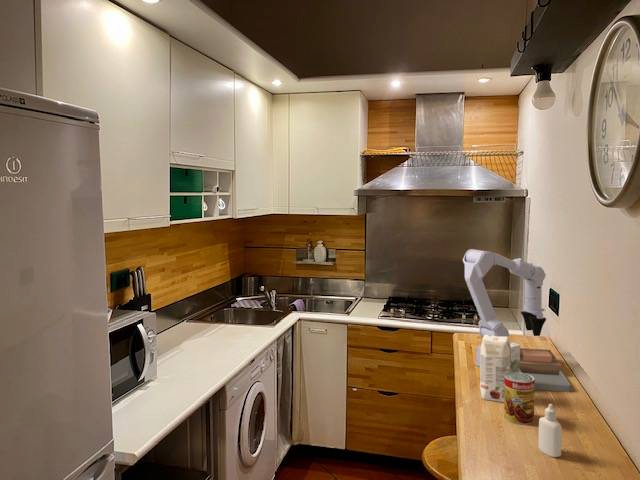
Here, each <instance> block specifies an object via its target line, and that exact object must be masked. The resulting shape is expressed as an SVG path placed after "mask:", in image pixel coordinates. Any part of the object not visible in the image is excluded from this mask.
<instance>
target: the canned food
mask: <svg viewBox="0 0 640 480" xmlns="http://www.w3.org/2000/svg"><path fill="white" fill-rule="evenodd" d="M534 388H535V379H534V377H533V376H531V375H529V374H526V373H521V372H510V373H506V374H505V375H504V402H503V418H504V419H505V420H506V421H508V422H509V423H512V424H515V425H523V426H524V425H525V426H526V425H530V424H532V423H534V421H535V389H534Z"/></svg>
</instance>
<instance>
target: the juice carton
mask: <svg viewBox="0 0 640 480" xmlns="http://www.w3.org/2000/svg"><path fill="white" fill-rule="evenodd" d="M481 339H482V340H481V362H480V371H479V372H480V375H479V377H480V379H479V380H480V381H479V386H480V387H479V388H480V390H479V391H480V394H481V398H482V400H485V401H492V402H493V401H494V402H499V403H504V375H505V374H506V373H510V364H511V345H510V342H511V341H510V337H506V336H492V335H484V338H483V337H482V338H481Z"/></svg>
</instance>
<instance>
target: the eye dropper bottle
mask: <svg viewBox="0 0 640 480" xmlns="http://www.w3.org/2000/svg"><path fill="white" fill-rule="evenodd" d="M553 406H554V405H553V404H552V403H549V404H548V407H546V408H545V409H544V416H542V417H540V418H539V420H538V442H537V443H538V444H537V445H538V449H539V450H540V451H541V452H542V453H544V454H545V455H547V456H548V457H552V458H558V457H561V456H562V436H563V435H562V433H563V432H562V428H563V427H562V425H561V423H560V422H559V421H558V420H557V411H556V409H555V408H553Z"/></svg>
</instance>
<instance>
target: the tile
mask: <svg viewBox="0 0 640 480" xmlns="http://www.w3.org/2000/svg"><path fill="white" fill-rule="evenodd" d="M522 357H523V359H524V361H541V362H552V356H551V355H550V353H549V352H548V351H531V350H522Z"/></svg>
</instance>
